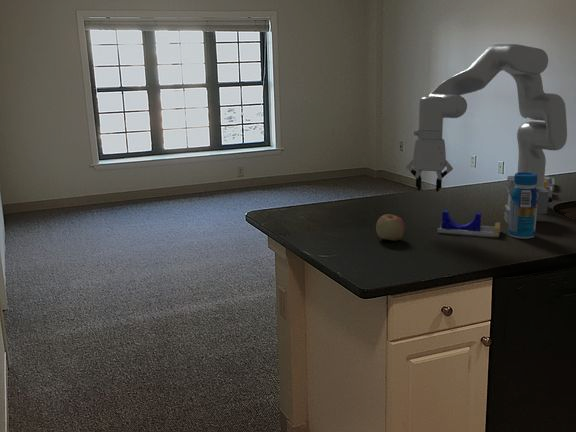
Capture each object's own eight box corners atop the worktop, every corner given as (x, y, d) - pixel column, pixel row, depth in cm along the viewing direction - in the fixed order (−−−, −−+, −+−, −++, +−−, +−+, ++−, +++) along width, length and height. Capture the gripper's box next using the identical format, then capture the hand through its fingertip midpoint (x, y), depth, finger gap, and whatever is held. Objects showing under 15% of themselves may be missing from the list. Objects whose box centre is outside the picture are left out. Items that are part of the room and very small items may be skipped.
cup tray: (517, 182, 280) (518, 175, 279) (553, 184, 275) (554, 177, 274) (516, 189, 267) (516, 182, 266) (554, 191, 262) (554, 184, 261)
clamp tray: (508, 191, 264) (508, 184, 263) (551, 193, 258) (552, 186, 257) (507, 195, 256) (507, 188, 256) (551, 198, 250) (552, 190, 250)
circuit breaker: (551, 224, 215) (554, 180, 211) (506, 223, 217) (509, 180, 214) (547, 218, 222) (550, 176, 218) (504, 217, 224) (507, 175, 221)
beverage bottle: (502, 235, 204) (506, 174, 198) (517, 230, 208) (521, 170, 203) (525, 241, 197) (530, 177, 192) (541, 235, 202) (546, 174, 197)
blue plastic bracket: (441, 230, 209) (441, 213, 208) (443, 227, 213) (443, 209, 212) (479, 233, 205) (480, 215, 203) (480, 230, 209) (481, 212, 207)
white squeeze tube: (440, 227, 214) (441, 218, 214) (500, 231, 208) (500, 222, 207) (437, 233, 208) (437, 224, 207) (498, 237, 201) (499, 228, 200)
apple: (382, 235, 207) (382, 211, 205) (408, 238, 203) (408, 214, 201) (371, 242, 200) (372, 217, 198) (398, 245, 195) (399, 220, 193)
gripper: (401, 136, 204) (400, 191, 209) (456, 137, 198) (453, 194, 203) (406, 133, 211) (404, 186, 216) (459, 134, 205) (456, 189, 209)
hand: (428, 189), depth 209 cm, fingers open, 5 cm apart
